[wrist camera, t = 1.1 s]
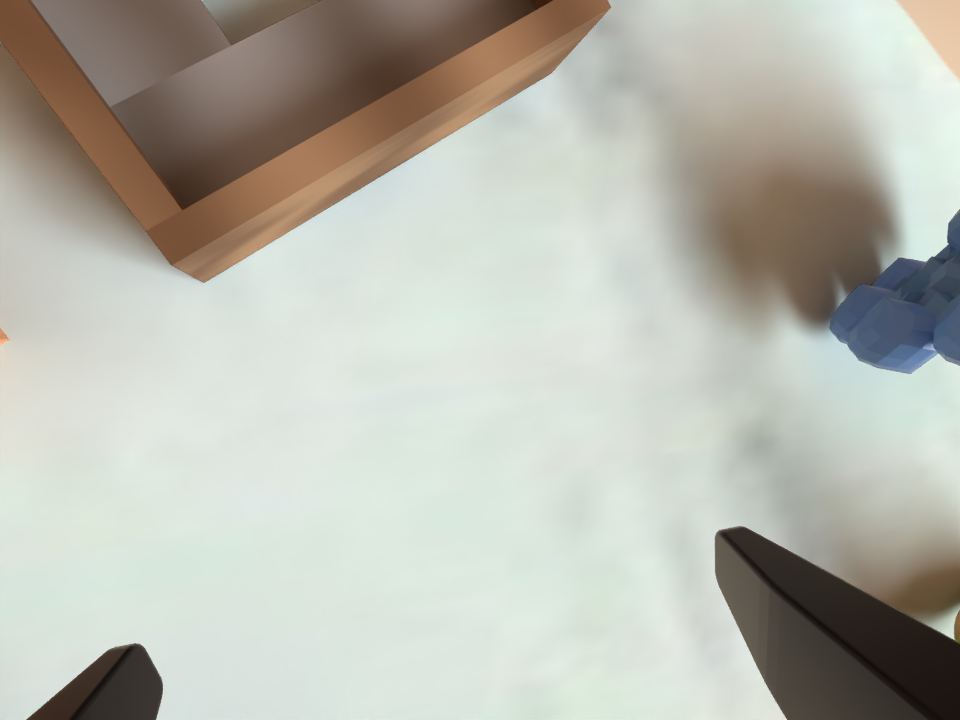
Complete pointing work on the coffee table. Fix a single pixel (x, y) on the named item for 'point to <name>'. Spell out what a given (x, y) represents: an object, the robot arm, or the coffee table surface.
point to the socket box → (273, 100)
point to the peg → (3, 337)
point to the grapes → (906, 312)
